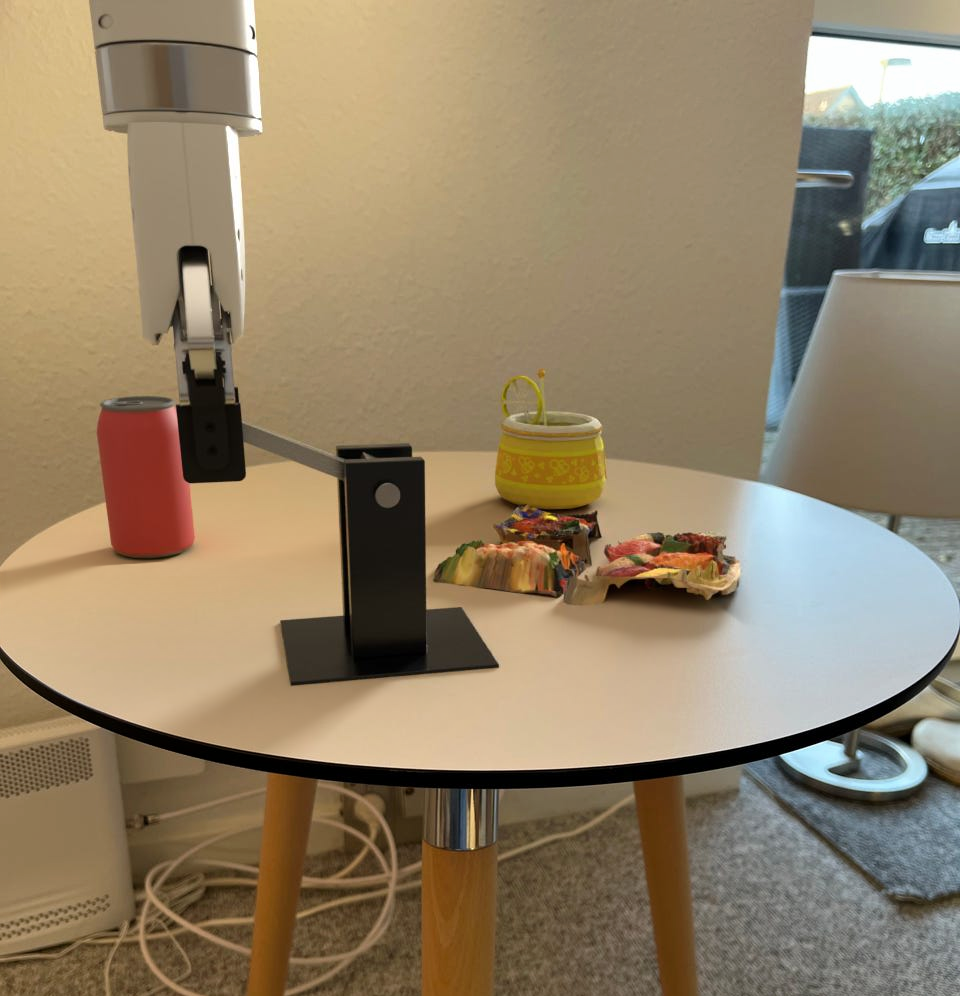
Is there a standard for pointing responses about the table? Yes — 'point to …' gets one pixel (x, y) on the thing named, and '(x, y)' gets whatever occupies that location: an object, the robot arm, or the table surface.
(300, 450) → the lever
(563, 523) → the food
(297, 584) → the table surface
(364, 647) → the bracket
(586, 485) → the yellow flower pot
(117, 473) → the beer can
